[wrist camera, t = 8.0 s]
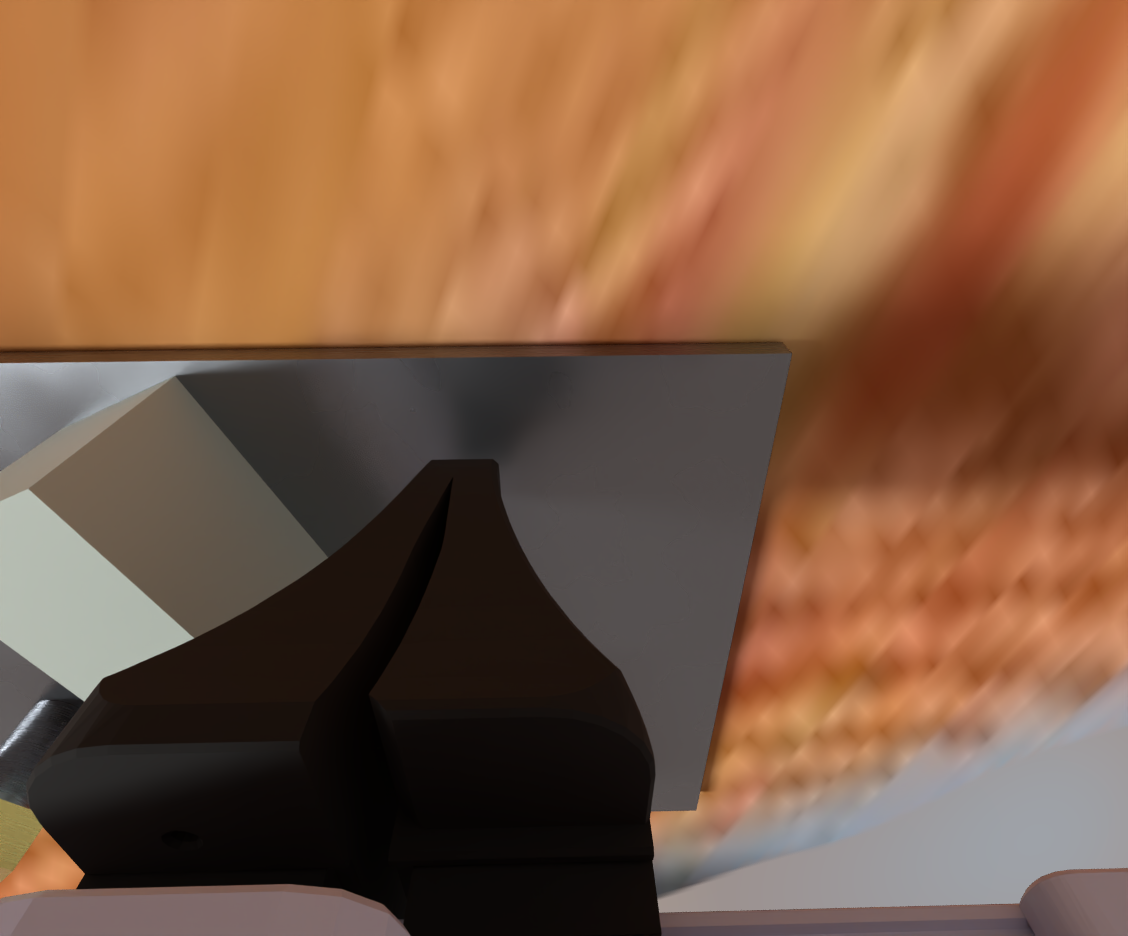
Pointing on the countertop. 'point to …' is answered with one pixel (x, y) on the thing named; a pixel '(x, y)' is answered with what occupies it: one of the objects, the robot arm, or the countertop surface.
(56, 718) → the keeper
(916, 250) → the countertop surface
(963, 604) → the countertop surface
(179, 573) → the link
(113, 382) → the base plate
